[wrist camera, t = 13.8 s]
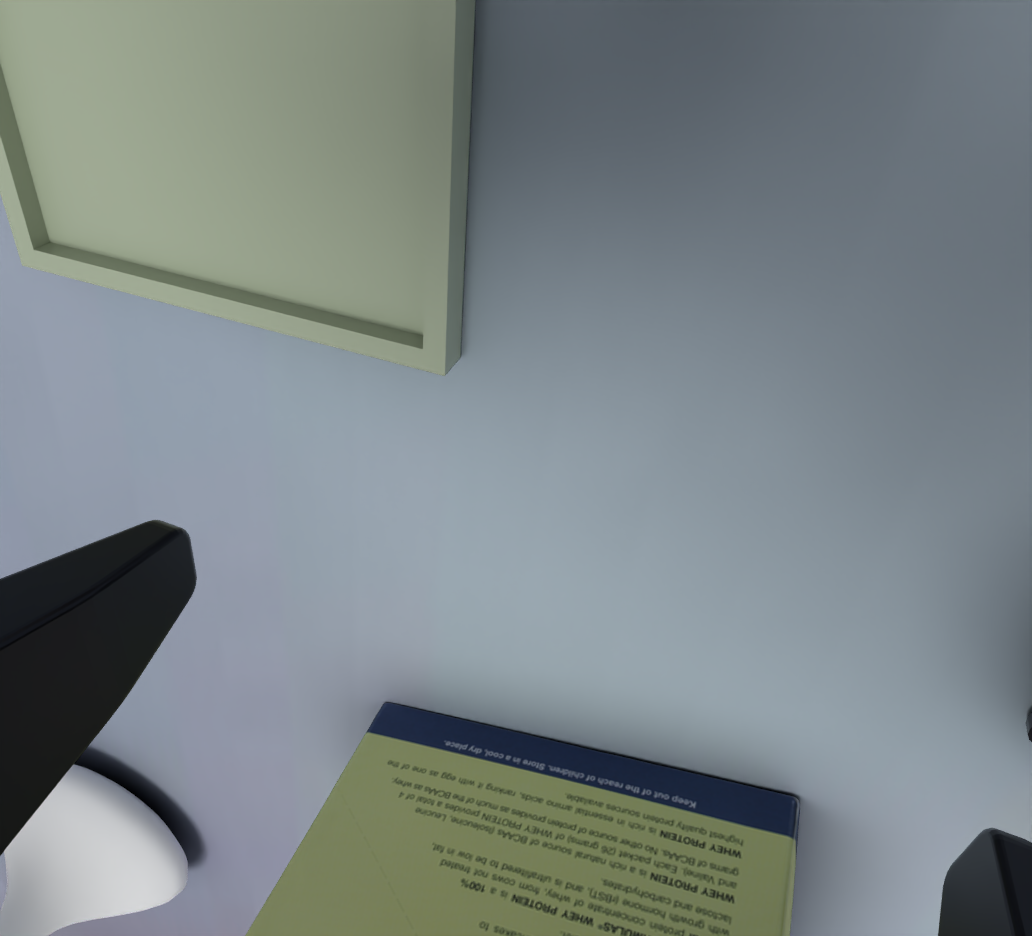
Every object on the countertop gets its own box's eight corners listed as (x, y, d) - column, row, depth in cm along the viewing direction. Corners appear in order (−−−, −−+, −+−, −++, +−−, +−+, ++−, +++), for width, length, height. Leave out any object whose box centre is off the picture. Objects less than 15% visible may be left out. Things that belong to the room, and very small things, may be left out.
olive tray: (489, -334, 14) (465, -345, 13) (460, 357, 22) (444, 376, 21) (-127, -370, 17) (-175, -381, 16) (49, 252, 25) (22, 265, 24)
